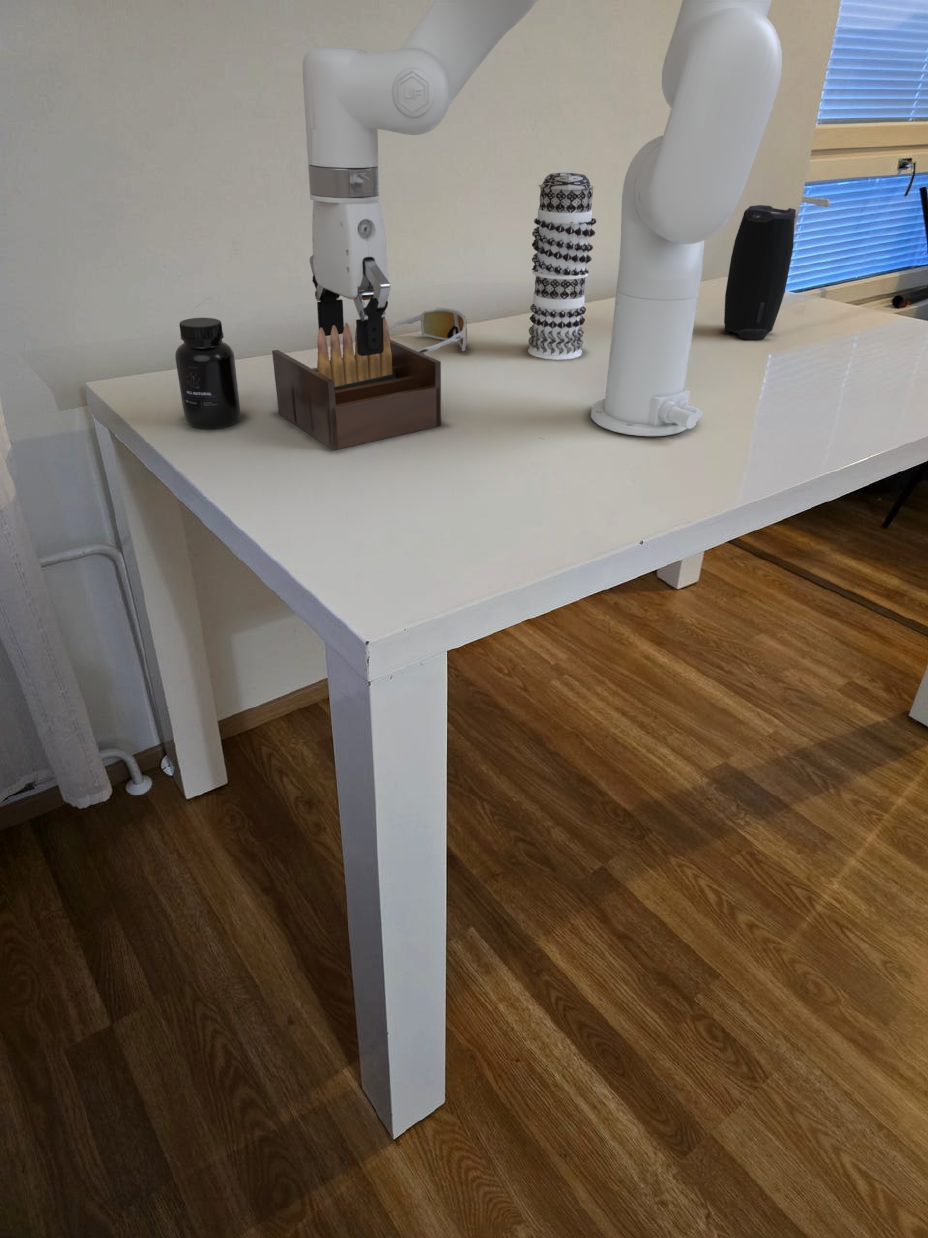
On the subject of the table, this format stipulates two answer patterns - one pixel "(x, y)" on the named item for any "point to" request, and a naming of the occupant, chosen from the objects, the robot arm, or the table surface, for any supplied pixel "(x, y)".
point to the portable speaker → (758, 271)
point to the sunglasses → (440, 327)
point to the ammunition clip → (353, 360)
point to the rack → (361, 400)
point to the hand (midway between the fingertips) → (350, 343)
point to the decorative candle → (561, 266)
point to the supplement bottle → (207, 375)
